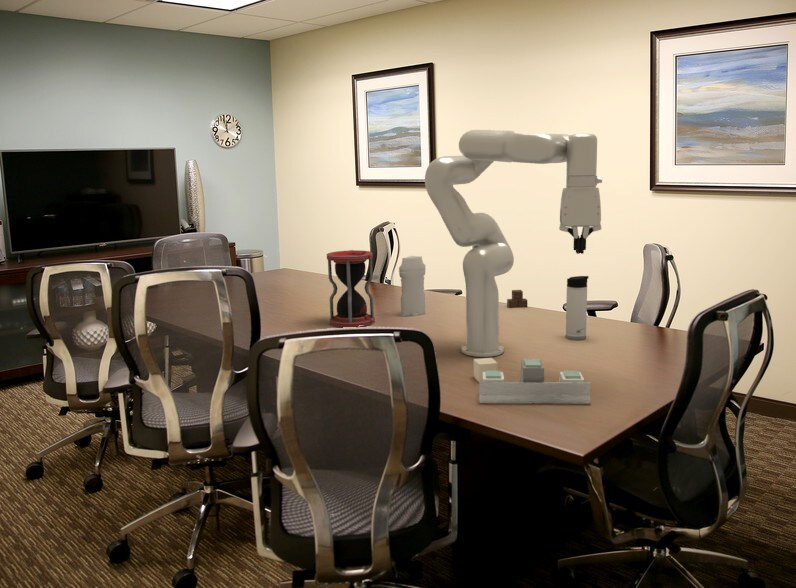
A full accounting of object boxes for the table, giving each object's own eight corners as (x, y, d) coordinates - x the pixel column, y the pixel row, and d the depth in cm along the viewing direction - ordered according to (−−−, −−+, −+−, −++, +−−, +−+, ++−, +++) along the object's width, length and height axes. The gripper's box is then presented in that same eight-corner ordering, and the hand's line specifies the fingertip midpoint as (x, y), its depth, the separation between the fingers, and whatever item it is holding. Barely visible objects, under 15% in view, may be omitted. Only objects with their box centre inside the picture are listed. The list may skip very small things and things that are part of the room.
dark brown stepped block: (531, 303, 287) (531, 285, 286) (539, 311, 272) (540, 293, 271) (493, 304, 287) (493, 287, 285) (499, 312, 272) (499, 294, 271)
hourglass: (373, 327, 251) (371, 255, 246) (327, 328, 252) (323, 257, 247) (376, 317, 267) (373, 249, 262) (332, 318, 267) (329, 250, 262)
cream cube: (473, 377, 195) (473, 359, 194) (491, 375, 196) (491, 357, 195) (478, 382, 190) (478, 364, 189) (497, 381, 191) (497, 362, 190)
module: (520, 390, 183) (521, 358, 181) (541, 390, 182) (541, 358, 181) (522, 400, 176) (523, 366, 174) (543, 400, 176) (544, 366, 174)
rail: (479, 400, 176) (479, 380, 175) (588, 400, 174) (589, 380, 173) (479, 403, 174) (479, 383, 173) (590, 403, 172) (590, 383, 171)
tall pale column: (402, 317, 265) (401, 257, 261) (398, 315, 269) (396, 256, 265) (428, 314, 269) (427, 255, 265) (423, 312, 273) (422, 253, 269)
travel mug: (583, 341, 227) (584, 278, 223) (562, 338, 230) (564, 276, 226) (589, 336, 232) (591, 274, 228) (569, 334, 235) (571, 273, 232)
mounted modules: (482, 391, 183) (482, 369, 182) (579, 391, 181) (580, 369, 180) (483, 399, 177) (483, 377, 176) (583, 399, 175) (584, 377, 174)
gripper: (607, 181, 192) (605, 250, 195) (550, 182, 193) (549, 251, 196) (613, 182, 184) (611, 254, 188) (553, 184, 186) (552, 255, 189)
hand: (579, 252), depth 192 cm, fingers closed
